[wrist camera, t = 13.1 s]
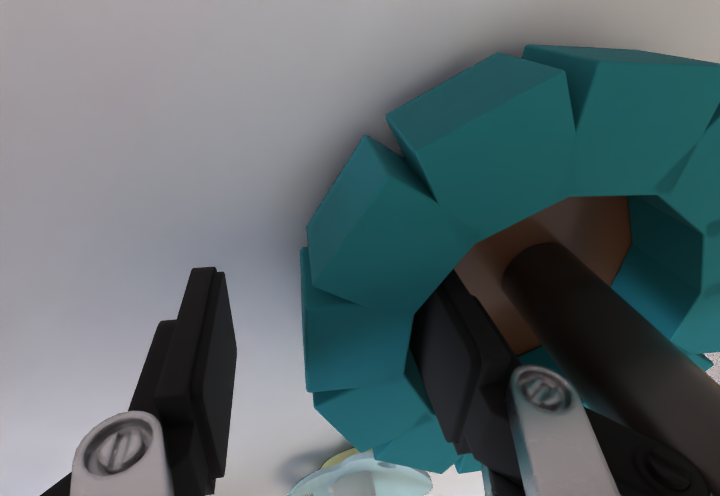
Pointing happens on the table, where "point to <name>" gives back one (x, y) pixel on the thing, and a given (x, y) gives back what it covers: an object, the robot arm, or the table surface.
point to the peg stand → (595, 324)
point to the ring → (507, 219)
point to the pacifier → (363, 478)
